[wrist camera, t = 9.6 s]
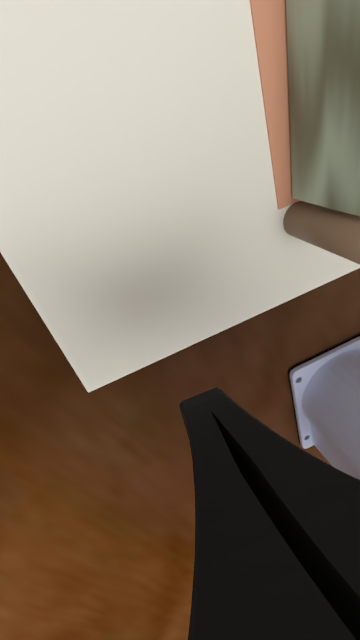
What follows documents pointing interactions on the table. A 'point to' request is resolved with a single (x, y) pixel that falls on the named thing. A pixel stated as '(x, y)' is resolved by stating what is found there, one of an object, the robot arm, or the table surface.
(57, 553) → the table surface
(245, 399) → the table surface
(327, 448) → the robot arm
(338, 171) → the fence panel
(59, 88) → the card
